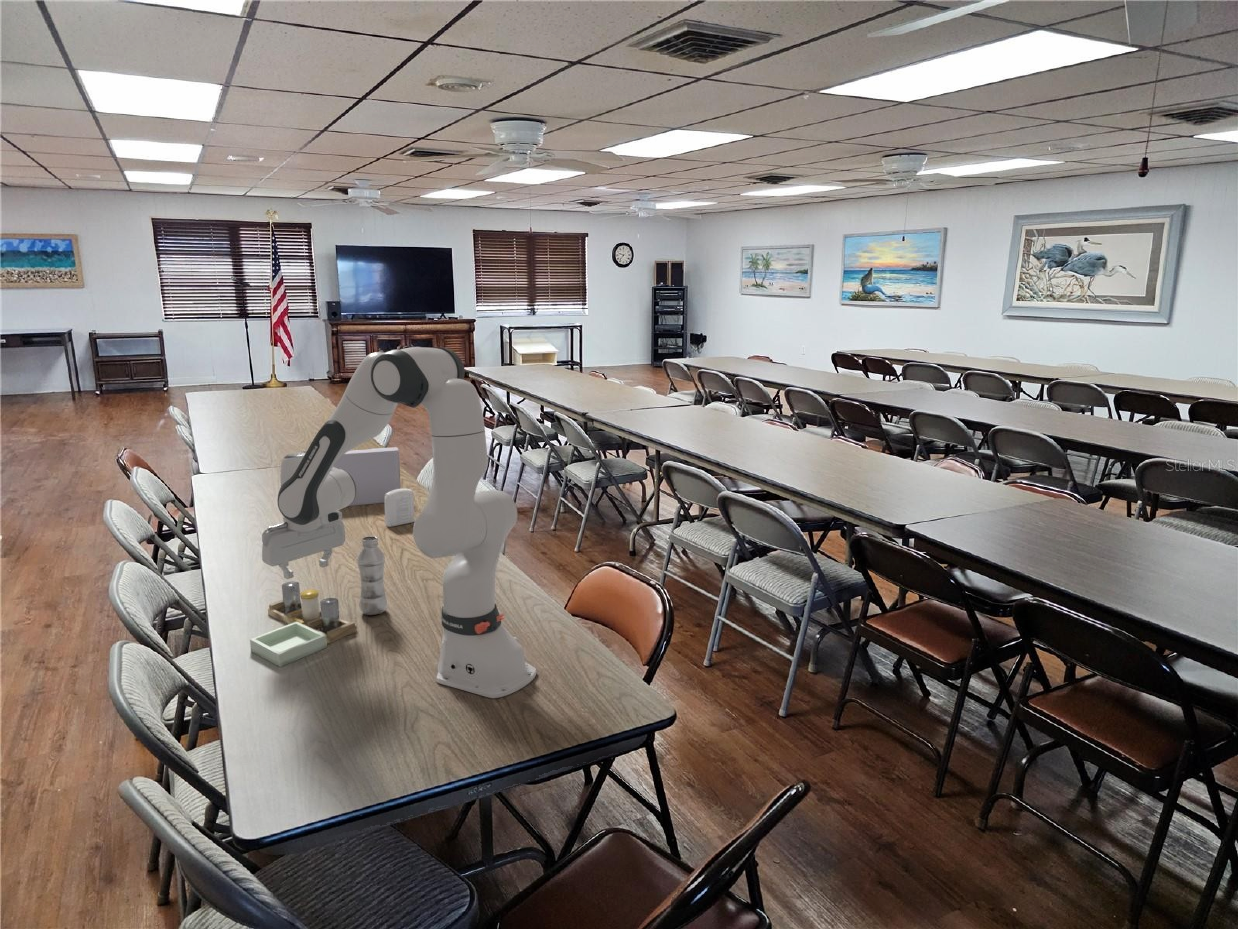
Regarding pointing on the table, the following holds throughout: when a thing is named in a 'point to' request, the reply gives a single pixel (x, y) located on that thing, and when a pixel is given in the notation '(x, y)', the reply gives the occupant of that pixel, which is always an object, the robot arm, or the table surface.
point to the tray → (288, 643)
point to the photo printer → (399, 507)
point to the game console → (372, 473)
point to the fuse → (310, 605)
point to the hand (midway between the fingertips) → (306, 572)
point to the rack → (312, 622)
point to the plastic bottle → (371, 577)
